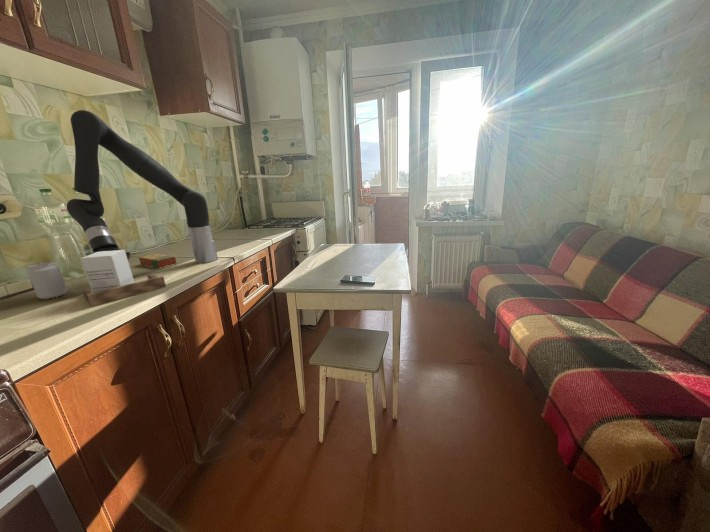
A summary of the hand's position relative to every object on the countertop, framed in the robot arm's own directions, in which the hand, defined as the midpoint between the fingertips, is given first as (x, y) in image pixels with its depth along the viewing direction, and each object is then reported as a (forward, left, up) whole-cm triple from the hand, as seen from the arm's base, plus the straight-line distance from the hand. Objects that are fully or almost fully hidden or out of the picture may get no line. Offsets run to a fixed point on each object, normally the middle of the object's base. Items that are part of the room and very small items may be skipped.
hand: (119, 276), depth 102 cm
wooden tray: (0, +4, -5) cm, 6 cm away
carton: (-20, -27, -5) cm, 34 cm away
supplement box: (+3, +4, -5) cm, 7 cm away
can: (+17, -13, -5) cm, 22 cm away
